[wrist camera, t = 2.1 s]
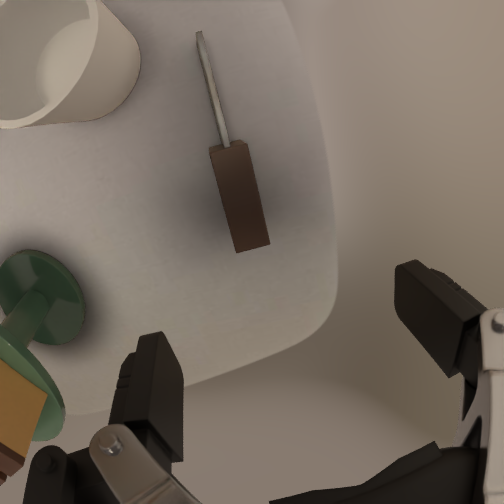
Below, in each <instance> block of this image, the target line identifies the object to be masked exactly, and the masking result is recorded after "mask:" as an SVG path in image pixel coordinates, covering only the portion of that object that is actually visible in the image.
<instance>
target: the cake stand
mask: <svg viewBox="0 0 504 504" xmlns="http://www.w3.org/2000/svg"><path fill="white" fill-rule="evenodd" d="M0 305H1V307H2V309H3V311H4V313H5V314H6V318H5V319H4V320H3V322H2V323H1V324H0V359H1V360H3V361H4V362H5V363H6V364H8V365H9V366H10V367H11V368H13V369H14V370H15V371H16V372H18V373H19V374H20V375H22V376H23V377H24V378H26V379H27V380H28V381H30V382H31V383H33V384H34V385H35V386H37V387H38V388H40V389H41V390H42V391H44V392H45V393H47V394H48V396H47V398H46V401H45V403H44V406H43V409H42V411H41V414H40V417H39V419H38V422H37V425H36V428H35V431H34V434H33V437H32V440H31V441H47V440H50V439H53V438H55V437H56V436H57V435H58V434H59V433H60V432H61V430H62V428H63V424H64V421H65V415H66V413H65V405H64V402H63V399H62V396H61V394H60V392H59V390H58V388H57V386H56V384H55V383H54V381H53V379H52V378H51V376H50V375H49V374H48V372H47V371H46V369H45V368H44V367H43V366H42V364H41V363H40V362H39V361H38V360H37V358H36V357H35V356H34V355H33V354H32V353H31V352H30V351H29V350H28V349H27V347H28V346H29V344H30V342H31V340H32V339H33V340H35V341H37V342H40V343H43V344H48V345H60V344H64V343H67V342H69V341H71V340H72V339H73V338H74V337H75V336H76V335H77V334H78V333H79V331H80V329H81V327H82V324H83V322H84V318H85V302H84V298H83V295H82V292H81V289H80V287H79V285H78V283H77V282H76V280H75V279H74V277H73V276H72V274H71V273H70V272H69V271H68V270H67V269H66V268H65V267H64V266H63V265H62V264H61V263H60V262H59V261H57V260H56V259H54V258H53V257H51V256H49V255H47V254H45V253H42V252H39V251H35V250H22V251H19V252H16V253H14V254H13V255H11V256H10V257H9V258H8V259H7V260H6V261H5V262H4V263H3V264H2V265H1V267H0Z"/></svg>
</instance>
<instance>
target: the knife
mask: <svg viewBox="0 0 504 504" xmlns="http://www.w3.org/2000/svg"><path fill="white" fill-rule="evenodd" d="M196 42H197V48H198V52H199V56H200V60H201V64H202V68H203V72H204V76H205V80H206V83H207V87H208V91H209V95H210V99H211V103H212V107H213V111H214V115H215V119H216V123H217V127H218V131H219V135H220V139H221V143H222V144H220V145H216V146H213V147H209V154H210V158H211V162H212V165H213V169H214V173H215V177H216V181H217V184H218V188H219V192H220V195H221V199H222V203H223V207H224V210H225V214H226V218H227V221H228V225H229V229H230V232H231V236H232V240H233V243H234V247H235V251H236V253H240V252H244V251H247V250H251V249H255V248H258V247H262V246H266V245H270V240H269V236H268V231H267V227H266V222H265V218H264V214H263V209H262V205H261V200H260V196H259V192H258V187H257V183H256V179H255V174H254V170H253V166H252V162H251V157H250V153H249V149H248V145H247V143H245V142H243V141H241V140H236V141H232V142H230V141H229V137H228V133H227V129H226V125H225V121H224V117H223V113H222V109H221V105H220V101H219V97H218V93H217V89H216V85H215V81H214V77H213V73H212V69H211V65H210V62H209V58H208V54H207V50H206V46H205V42H204V38H203V34H202V31H198V32H196Z"/></svg>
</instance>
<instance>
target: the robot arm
mask: <svg viewBox="0 0 504 504" xmlns="http://www.w3.org/2000/svg"><path fill="white" fill-rule="evenodd" d="M394 293H395V294H394V305H395V310H396V313H397V315H398V317H399V318H400V320H401V321H402V322H403V323H404V325H405V326H406V327H407V328H408V329H409V330H410V332H411V333H412V334H413V335H414V336H415V338H416V339H417V340H418V341H419V342H420V343H421V345H422V346H423V347H424V348H425V350H426V351H427V352H428V353H429V354H430V356H431V357H432V358H433V359H434V361H435V362H436V363H437V364H438V365H439V367H440V368H441V369H442V371H443V372H444V373H445V374H446V376H447V377H448V378H450V377H452V376H454V375H456V374H457V373H459V372H461V374H462V375H463V379H462V383H461V396H460V409H459V419H458V427H457V432H456V435H455V438H454V441H453V444H452V447H447V448H441V449H439V448H438V446H437V444H436V443H435V441H433V442H431V443H429V444H427V445H426V446H424V447H422V448H420V449H418V450H416V451H414V452H412V453H410V454H408V455H405V456H403V457H401V458H399V459H397V460H396V461H395V462H393V463H392V464H391V465H389V466H388V467H387V468H385V469H384V470H382V471H381V472H380V473H378V474H377V475H376V476H374V477H373V478H371V479H369V480H368V481H366V482H365V483H363V484H361V485H357V486H351V487H344V488H335V489H323V490H312V491H309V492H305V493H301V494H297V495H294V496H290V497H285V498H281V499H277V500H273V501H269V504H504V309H503V308H491V309H487V308H486V307H484V306H483V305H482V304H481V303H480V302H479V301H478V300H476V299H475V298H474V297H473V296H472V295H470V294H469V293H468V292H467V291H466V290H464V289H461V286H459V285H458V284H457V283H456V282H455V283H454V281H453V280H452V279H451V278H449V277H448V276H447V275H445V274H444V273H442V272H439V271H437V270H434V269H429V268H427V267H426V266H425V265H424V264H422V263H421V262H419V261H418V260H412V261H409V262H406V263H403V264H400V265H397V266H396V268H395V292H394ZM116 387H117V389H116V390H115V395H114V399H113V404H112V408H111V413H110V418H109V423H108V426H105V427H103V428H102V429H100V430H99V431H98V432H97V433H96V434H95V435H94V436H93V438H92V440H91V442H90V445H89V447H87V448H85V449H82V450H79V451H76V452H73V453H70V454H66V453H65V452H64V451H63V450H62V449H61V448H60V447H57V446H54V445H50V446H46V447H43V448H42V449H40V450H39V451H38V452H37V453H36V454H35V455H34V457H33V459H32V461H31V465H30V470H29V474H28V478H27V483H26V488H25V493H24V499H23V504H202V503H201V502H200V501H199V500H198V499H197V498H195V497H194V496H193V495H192V494H191V493H190V492H189V491H188V490H187V489H186V488H185V487H184V486H183V485H182V484H181V483H180V482H179V481H178V480H177V479H176V477H175V476H173V474H172V473H171V463H174V462H183V390H184V379H183V373H182V369H181V366H180V364H179V362H178V360H177V358H176V356H175V354H174V352H173V350H172V348H171V346H170V344H169V342H168V340H167V338H166V336H165V334H164V333H163V332H162V331H160V332H156V333H151V334H147V335H142V336H140V337H139V340H138V344H137V349H136V352H134V353H130V354H129V355H128V356H127V358H126V359H125V361H124V362H123V364H122V365H121V369H120V373H119V379H118V382H117V386H116Z"/></svg>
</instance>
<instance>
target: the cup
mask: <svg viewBox="0 0 504 504" xmlns="http://www.w3.org/2000/svg"><path fill="white" fill-rule="evenodd" d="M140 65H141V58H140V51H139V46H138V44H137V42H136V40H135V38H134V37H133V35H132V34H131V33H130V32H129V31H128V30H127V29H126V28H125V26H124V25H123V24H122V23H121V22H120V21H119V20H118V19H117V18H116V17H115V15H114V14H113V13H112V12H111V11H110V10H109V9H108V8H107V7H106V6H105V5H104V4H103V3H102V1H101V0H1V1H0V128H3V129H11V128H22V127H29V126H38V125H47V124H57V123H68V122H82V121H90V120H95V119H98V118H100V117H103V116H105V115H107V114H109V113H110V112H112V111H113V110H115V109H116V108H117V107H118V106H119V105H121V104H122V103H123V102H124V100H125V99H126V98H127V97H128V95H129V94H130V93H131V91H132V89H133V87H134V86H135V84H136V81H137V78H138V75H139V71H140Z"/></svg>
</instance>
